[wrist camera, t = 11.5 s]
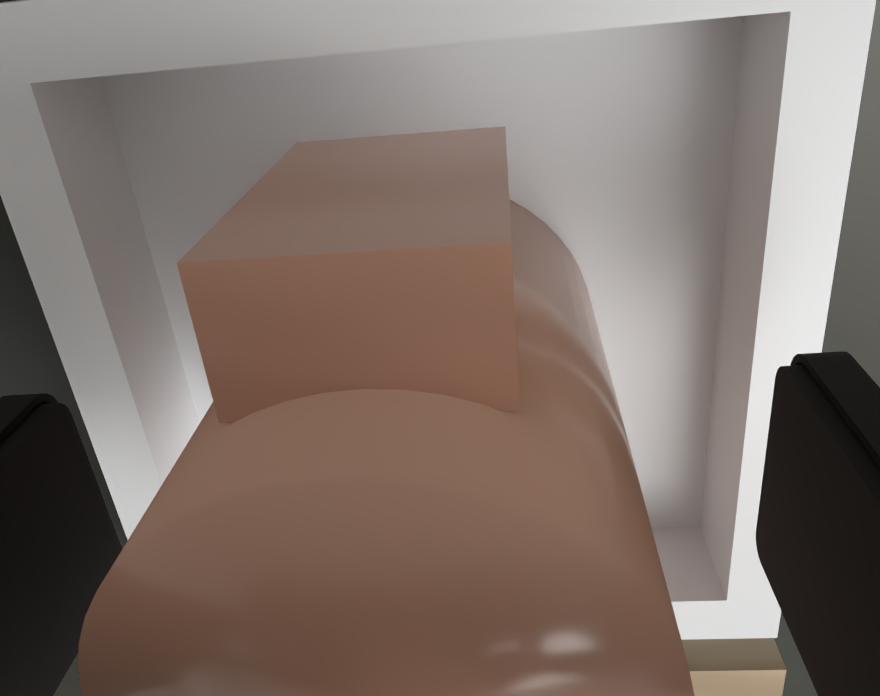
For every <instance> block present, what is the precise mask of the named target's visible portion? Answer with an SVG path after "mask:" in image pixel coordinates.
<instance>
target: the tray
mask: <svg viewBox="0 0 880 696" xmlns="http://www.w3.org/2000/svg"><path fill="white" fill-rule="evenodd" d="M875 4H876V0H16V1H8V2H0V195H1V198H2V201H3V204H4V206H5V209H6V212H7V214H8V217H9V220H10V223H11V225H12V228H13V231H14V233H15V236H16V239H17V241H18V244H19V247H20V250H21V252H22V255H23V258H24V260H25V263H26V266H27V269H28V271H29V274H30V277H31V279H32V282H33V285H34V288H35V290H36V293H37V296H38V298H39V301H40V304H41V307H42V309H43V312H44V315H45V317H46V320H47V323H48V325H49V328H50V331H51V334H52V336H53V339H54V342H55V344H56V347H57V350H58V353H59V355H60V358H61V361H62V363H63V366H64V369H65V372H66V374H67V377H68V380H69V382H70V385H71V388H72V391H73V393H74V396H75V399H76V401H77V404H78V407H79V409H80V412H81V415H82V418H83V420H84V423H85V426H86V428H87V431H88V434H89V437H90V439H91V442H92V445H93V447H94V450H95V453H96V456H97V458H98V461H99V464H100V466H101V469H102V472H103V475H104V477H105V480H106V483H107V485H108V488H109V491H110V493H111V496H112V499H113V502H114V504H115V507H116V510H117V512H118V515H119V518H120V521H121V523H122V526H123V529H124V531H125V534H126V537H127V540H128V539H129V538H130V536H131V534H132V533H133V531H134V529H135V528H136V526H137V525H138V523H139V521H140V520H141V518H142V516H143V515H144V513H145V512H146V510H147V508H148V507H149V505H150V503H151V502H152V500H153V499H154V497H155V495H156V494H157V492H158V490H159V489H160V487H161V486H162V484H163V482H164V481H165V479H166V477H167V476H168V474H169V473H170V471H171V469H172V468H173V466H174V464H175V463H176V461H177V460H178V458H179V456H180V455H181V453H182V451H183V450H184V448H185V447H186V445H187V443H188V442H189V440H190V438H191V437H192V435H193V433H194V432H195V430H196V429H197V427H198V425H199V424H200V422H201V420H202V419H203V417H204V416H205V414H206V412H207V411H208V409H209V407H210V406H211V404H212V403H213V399H212V395H211V391H210V388H209V384H208V380H207V376H206V372H205V369H204V365H203V361H202V357H201V354H200V350H199V346H198V342H197V338H196V335H195V331H194V327H193V323H192V320H191V316H190V312H189V308H188V304H187V301H186V297H185V293H184V289H183V286H182V282H181V278H180V274H179V271H178V267H177V262H178V261H179V260H180V259H181V258H182V257H183V256H184V255H185V254H186V253H187V252H188V251H189V250H190V249H191V248H192V247H193V246H194V245H195V244H196V243H197V242H198V241H199V240H200V239H201V238H202V237H203V236H204V235H205V234H206V233H207V232H208V231H209V230H210V229H211V228H212V227H213V226H214V225H215V224H216V223H217V222H218V221H219V220H220V219H221V218H222V217H223V216H224V215H225V214H226V213H227V212H228V211H229V210H230V209H231V208H232V207H233V206H234V205H235V204H236V203H237V202H238V201H239V200H240V199H241V198H242V197H243V196H244V195H245V194H246V193H247V192H248V191H249V190H250V189H251V188H252V187H253V186H254V185H255V184H256V183H257V182H258V181H259V180H260V179H261V178H262V177H263V176H264V175H265V174H266V173H267V172H268V171H269V170H270V169H271V168H272V167H273V166H274V165H275V164H276V163H277V162H278V161H279V160H280V159H281V158H282V157H283V156H284V155H285V154H286V153H287V152H288V151H289V150H290V149H291V148H292V147H293V145H294V144H295V143H296V142H307V141H320V140H333V139H346V138H359V137H372V136H385V135H398V134H411V133H424V132H437V131H450V130H464V129H477V128H490V127H503V126H505V131H506V149H507V167H508V185H509V199H510V200H511V201H513V202H515V203H517V204H519V205H520V206H522V207H524V208H526V209H527V210H529V211H530V212H531V213H533V214H534V215H535V216H537V217H538V218H539V219H541V220H542V221H543V222H544V223H546V224H547V225H548V226H549V227H550V228H551V229H552V230H553V231H554V232H555V233H556V234H557V235H558V236H559V238H560V239H561V240H562V242H563V243H564V244H565V246H566V247H567V248H568V249H569V251H570V252H571V254H572V256H573V257H574V259H575V261H576V263H577V264H578V266H579V268H580V270H581V273H582V275H583V278H584V280H585V283H586V286H587V289H588V292H589V296H590V300H591V304H592V307H593V311H594V315H595V319H596V322H597V326H598V330H599V333H600V337H601V341H602V345H603V348H604V352H605V356H606V360H607V363H608V367H609V371H610V375H611V378H612V382H613V386H614V390H615V393H616V397H617V401H618V405H619V408H620V412H621V416H622V420H623V423H624V427H625V431H626V435H627V438H628V442H629V446H630V449H631V453H632V457H633V461H634V464H635V468H636V472H637V476H638V479H639V483H640V487H641V491H642V494H643V498H644V502H645V506H646V509H647V513H648V517H649V521H650V524H651V528H652V532H653V536H654V539H655V543H656V547H657V550H658V554H659V558H660V562H661V565H662V569H663V573H664V577H665V580H666V584H667V588H668V592H669V595H670V599H671V603H672V607H673V610H674V614H675V618H676V622H677V625H678V629H679V633H680V637H681V640H688V639H742V638H777V635H778V629H779V622H780V616H781V609H780V606H779V604H778V602H777V600H776V597H775V595H774V593H773V590H772V588H771V586H770V583H769V581H768V579H767V576H766V574H765V572H764V570H763V567H762V565H761V563H760V560H759V557H758V552H757V546H756V527H757V519H758V511H759V503H760V495H761V487H762V479H763V471H764V463H765V455H766V447H767V439H768V431H769V423H770V415H771V407H772V399H773V391H774V383H775V377H776V372H777V370H778V368H779V367H780V366H790V364H791V361H792V359H793V357H794V356H795V355H796V354H805V353H821V352H822V345H823V339H824V333H825V326H826V320H827V313H828V307H829V300H830V294H831V288H832V281H833V275H834V268H835V262H836V255H837V249H838V242H839V236H840V230H841V223H842V217H843V210H844V204H845V197H846V191H847V184H848V178H849V172H850V165H851V159H852V152H853V146H854V139H855V133H856V126H857V120H858V114H859V107H860V101H861V94H862V88H863V81H864V75H865V69H866V62H867V56H868V49H869V43H870V36H871V30H872V23H873V17H874V11H875Z"/></svg>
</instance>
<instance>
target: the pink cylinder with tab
mask: <svg viewBox="0 0 880 696" xmlns="http://www.w3.org/2000/svg"><path fill="white" fill-rule="evenodd" d="M177 267H178V271H179V274H180V278H181V282H182V286H183V289H184V293H185V297H186V301H187V304H188V308H189V312H190V316H191V320H192V323H193V327H194V331H195V335H196V338H197V342H198V346H199V350H200V354H201V357H202V361H203V365H204V369H205V372H206V376H207V380H208V384H209V388H210V391H211V395H212V399H213V403H212V404H211V406H210V407H209V409H208V411H207V412H206V414H205V416H204V417H203V419H202V420H201V422H200V424H199V425H198V427H197V429H196V430H195V432H194V433H193V435H192V437H191V438H190V440H189V442H188V443H187V445H186V447H185V448H184V450H183V451H182V453H181V455H180V456H179V458H178V460H177V461H176V463H175V464H174V466H173V468H172V469H171V471H170V473H169V474H168V476H167V477H166V479H165V481H164V482H163V484H162V486H161V487H160V489H159V490H158V492H157V494H156V495H155V497H154V499H153V500H152V502H151V503H150V505H149V507H148V508H147V510H146V512H145V513H144V515H143V516H142V518H141V520H140V521H139V523H138V525H137V526H136V528H135V529H134V531H133V533H132V534H131V536H130V538H129V539H128V541H127V542H126V544H125V546H124V547H123V549H122V551H121V552H120V554H119V556H118V557H117V559H116V560H115V562H114V564H113V565H112V567H111V569H110V570H109V572H108V573H107V575H106V577H105V578H104V580H103V582H102V583H101V585H100V586H99V588H98V590H97V591H96V594H95V596H94V598H93V600H92V602H91V605H90V607H89V609H88V611H87V613H86V616H85V618H84V623H83V627H82V631H81V636H80V640H79V647H78V674H79V680H80V686H81V692H82V696H694V691H693V686H692V681H691V676H690V671H689V666H688V663H687V659H686V655H685V652H684V648H683V644H682V640H681V637H680V633H679V629H678V625H677V622H676V618H675V614H674V610H673V607H672V603H671V599H670V595H669V592H668V588H667V584H666V580H665V577H664V573H663V569H662V565H661V562H660V558H659V554H658V550H657V547H656V543H655V539H654V536H653V532H652V528H651V524H650V521H649V517H648V513H647V509H646V506H645V502H644V498H643V494H642V491H641V487H640V483H639V479H638V476H637V472H636V468H635V464H634V461H633V457H632V453H631V449H630V446H629V442H628V438H627V435H626V431H625V427H624V423H623V420H622V416H621V412H620V408H619V405H618V401H617V397H616V393H615V390H614V386H613V382H612V378H611V375H610V371H609V367H608V363H607V360H606V356H605V352H604V348H603V345H602V341H601V337H600V333H599V330H598V326H597V322H596V319H595V315H594V311H593V307H592V304H591V300H590V296H589V292H588V289H587V286H586V283H585V280H584V278H583V275H582V273H581V270H580V268H579V266H578V264H577V263H576V261H575V259H574V257H573V256H572V254H571V252H570V251H569V249H568V248H567V247H566V246H565V244H564V243H563V242H562V240H561V239H560V238H559V236H558V235H557V234H556V233H555V232H554V231H553V230H552V229H551V228H550V227H549V226H548V225H547V224H546V223H544V222H543V221H542V220H541V219H539V218H538V217H537V216H535V215H534V214H533V213H531V212H530V211H529V210H527V209H526V208H524V207H522V206H520V205H519V204H517V203H515V202H513V201H511V200H510V199H509V185H508V167H507V149H506V131H505V126H503V127H490V128H477V129H464V130H450V131H437V132H424V133H411V134H398V135H385V136H372V137H359V138H346V139H333V140H320V141H307V142H296V143H295V144H294V145H293V147H292V148H291V149H290V150H289V151H288V152H287V153H286V154H285V155H284V156H283V157H282V158H281V159H280V160H279V161H278V162H277V163H276V164H275V165H274V166H273V167H272V168H271V169H270V170H269V171H268V172H267V173H266V174H265V175H264V176H263V177H262V178H261V179H260V180H259V181H258V182H257V183H256V184H255V185H254V186H253V187H252V188H251V189H250V190H249V191H248V192H247V193H246V194H245V195H244V196H243V197H242V198H241V199H240V200H239V201H238V202H237V203H236V204H235V205H234V206H233V207H232V208H231V209H230V210H229V211H228V212H227V213H226V214H225V215H224V216H223V217H222V218H221V219H220V220H219V221H218V222H217V223H216V224H215V225H214V226H213V227H212V228H211V229H210V230H209V231H208V232H207V233H206V234H205V235H204V236H203V237H202V238H201V239H200V240H199V241H198V242H197V243H196V244H195V245H194V246H193V247H192V248H191V249H190V250H189V251H188V252H187V253H186V254H185V255H184V256H183V257H182V258H181V259H180V260H179V261H178V262H177Z"/></svg>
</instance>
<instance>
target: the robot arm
mask: <svg viewBox="0 0 880 696" xmlns="http://www.w3.org/2000/svg"><path fill="white" fill-rule="evenodd" d="M756 546H757V552H758V557H759V560H760V563H761V565H762V567H763V570H764V572H765V574H766V576H767V579H768V581H769V583H770V586H771V588H772V590H773V593H774V595H775V597H776V600H777V602H778V604H779V606H780V609H781V611H782V613H783V616H784V618H785V620H786V623H787V625H788V627H789V629H790V632H791V634H792V636H793V639H794V641H795V643H796V646H797V648H798V650H799V652H800V655H801V657H802V659H803V662H804V664H805V666H806V669H807V671H808V673H809V676H810V678H811V680H812V682H813V685H814V687H815V689H816V692H817V694H818V696H880V388H879V387H878V386H877V384H876V383H875V382H874V381H873V380H872V379H871V377H870V376H869V375H868V374H867V373H866V372H865V371H864V369H863V368H862V367H861V366H860V365H859V364H858V363H857V361H856V360H855V359H854V358H853V357H852V356H851V355H850V354H849V353H847V352H824V353H805V354H796V355H795V356H794V357H793V359H792V361H791V364H790V366H780V367H779V368H778V370H777V372H776V377H775V383H774V391H773V399H772V407H771V415H770V423H769V431H768V439H767V447H766V455H765V463H764V471H763V479H762V487H761V495H760V503H759V511H758V519H757V527H756ZM121 551H122V548H121V545H120V542H119V540H118V537H117V534H116V532H115V529H114V526H113V524H112V521H111V518H110V516H109V513H108V510H107V508H106V505H105V502H104V500H103V497H102V494H101V492H100V489H99V487H98V484H97V481H96V479H95V476H94V473H93V471H92V468H91V465H90V463H89V460H88V457H87V455H86V452H85V449H84V447H83V444H82V441H81V439H80V436H79V433H78V431H77V428H76V425H75V423H74V420H73V417H72V415H71V413H70V411H69V409H68V408H67V407H66V406H65V405H64V404H61V403H58V402H57V400H56V399H55V398H54V397H53V396H51V395H49V394H28V395H9V396H3V397H1V398H0V696H53V694H54V693H55V691H56V689H57V688H58V686H59V684H60V682H61V681H62V679H63V677H64V676H65V674H66V672H67V670H68V669H69V667H70V665H71V664H72V662H73V660H74V658H75V657H76V655H77V653H78V647H79V640H80V636H81V631H82V627H83V623H84V618H85V616H86V613H87V611H88V609H89V607H90V605H91V602H92V600H93V598H94V596H95V594H96V591H97V590H98V588H99V586H100V585H101V583H102V582H103V580H104V578H105V577H106V575H107V573H108V572H109V570H110V569H111V567H112V565H113V564H114V562H115V560H116V559H117V557H118V556H119V554H120V552H121Z"/></svg>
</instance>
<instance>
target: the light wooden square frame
mask: <svg viewBox="0 0 880 696" xmlns="http://www.w3.org/2000/svg"><path fill="white" fill-rule="evenodd" d="M682 644H683V648H684V652H685V655H686V659H687V663H688V666H689V671H690V676H691V681H692V686H693V691H694V696H782V693H783V687H784V681H785V675H786V668H785V665H784V663H783V660H782V658H781V655H780V653H779V650H778V648H777V645H776V643H775V641H774V638H742V639H688V640H682Z"/></svg>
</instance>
